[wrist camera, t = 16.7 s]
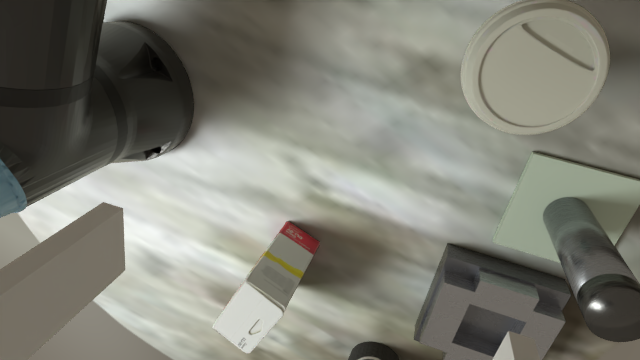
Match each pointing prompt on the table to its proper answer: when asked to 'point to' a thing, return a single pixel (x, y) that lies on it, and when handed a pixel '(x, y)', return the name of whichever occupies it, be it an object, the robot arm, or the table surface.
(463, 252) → the block
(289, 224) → the ink box
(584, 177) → the mat
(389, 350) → the coffee cup
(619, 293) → the dark glossy cylinder
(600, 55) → the coffee cup
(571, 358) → the table surface
